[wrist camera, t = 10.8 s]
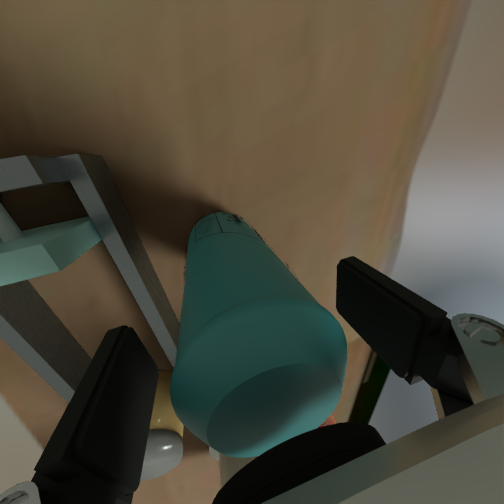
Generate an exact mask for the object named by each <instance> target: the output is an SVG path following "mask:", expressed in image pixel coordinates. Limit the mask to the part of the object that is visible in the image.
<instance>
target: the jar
mask: <svg viewBox="0 0 504 504" xmlns="http://www.w3.org/2000/svg"><path fill="white" fill-rule="evenodd" d="M172 372H173V371H167V370H161V371H159V378H158V383H157V389H156V395H155V400H154V406H153V411H152V417H151V423H150V428H149V434H148V439H147V445H146V451H145V456H144V462H143V467H142V473H141V479H140V482H141V481H146V480H150V479H154V478H156V477H159V476H161V475H164V474H166V473H167V472H169V471H171V470H172V469H173V468H175V467H176V466H177V465H178V464H179V462H180V461H181V459H182V456H183V426H184V425H183V424H182V422H181V421H180V420H179V419H178V417H177V416H176V414H175V411H174V409H173V406H172V403H171V398H170V383H171V377H172Z"/></svg>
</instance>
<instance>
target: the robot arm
mask: <svg viewBox="0 0 504 504" xmlns="http://www.w3.org/2000/svg"><path fill="white" fill-rule="evenodd" d="M336 308H337V311H338V313H339V314H340V315H341V316H342V317H343V318H344V319H345V320H346V321H347V322H348V323H349V325H350V326H351V327H352V328H353V329H354V330H355V331H356V332H357V333H358V334H359V335H360V336H361V337H362V338H363V339H364V341H365V342H366V343H367V344H368V345H369V346H370V347H371V348H372V349H373V350H374V351H375V352H376V353H377V354H378V355H379V357H380V358H381V359H382V360H383V361H384V362H385V363H386V364H387V365H388V366H389V367H390V368H391V369H392V370H393V371H394V372H395V374H397V375H398V376H399V377H401V378H404V379H405V380H406V381H407V382H408V383H409V384H410V385H412V384H414V383H416V382H419V381H421V380H422V379H424V380H425V381H426V382H427V383H428V384H429V385H430V388H431V392H432V395H433V399H434V403H435V407H436V411H437V414H438V418H439V420H438V421H436V422H433V423H431V424H429V425H427V426H425V427H423V428H421V429H418V430H416V431H414V432H412V433H410V434H408V435H406V436H403V437H401V438H399V439H397V440H395V441H393V442H391V443H389V444H386V445H384V446H382V447H380V448H378V449H376V450H373V451H371V452H369V453H367V454H365V455H363V456H361V457H359V458H356V459H354V460H352V461H350V462H348V463H346V464H344V465H342V466H340V467H337V468H335V469H333V470H331V471H329V472H327V473H325V474H323V475H320V476H318V477H316V478H314V479H312V480H310V481H308V482H306V483H304V484H302V485H299V486H297V487H295V488H293V489H291V490H289V491H287V492H285V493H283V494H280V495H278V496H276V497H274V498H272V499H270V500H268V501H266V502H264V503H261V504H504V325H503V324H501V323H499V322H497V321H495V320H493V319H490V318H487V317H484V316H481V315H476V314H467V313H463V314H457V315H455V316H453V317H452V319H451V320H450V319H448V318H447V317H446V315H447V312H446V311H444V310H442V309H441V308H439V307H437V306H435V305H434V304H432V303H431V302H429V301H427V300H426V299H424V298H422V297H420V296H419V295H417V294H416V293H414V292H412V291H411V290H409V289H407V288H406V287H404V286H402V285H401V284H399V283H397V282H396V281H394V280H392V279H391V278H389V277H387V276H386V275H384V274H382V273H381V272H379V271H377V270H376V269H374V268H373V267H371V266H369V265H368V264H366V263H364V262H363V261H361V260H359V259H358V258H356V257H354V256H351V257H348V258H345V259H342V260H340V262H339V264H338V265H337V289H336ZM158 378H159V370H158V367H157V365H156V364H155V362H154V361H153V359H152V358H151V356H150V354H149V353H148V351H147V350H146V348H145V346H144V345H143V343H142V342H141V340H140V339H139V337H138V335H137V334H136V332H135V331H134V329H133V328H132V327H129V328H128V326H126V325H124V326H120V327H117V328H114V329H110V330H108V331H107V333H106V334H105V336H104V338H103V340H102V342H101V344H100V346H99V348H98V350H97V351H96V353H95V355H94V357H93V359H92V361H91V363H90V365H89V366H88V368H87V370H86V372H85V374H84V376H83V378H82V380H81V382H80V383H79V385H78V387H77V389H76V391H75V393H74V395H73V397H72V399H71V400H70V402H69V404H68V406H67V408H66V410H65V412H64V414H63V416H62V417H61V419H60V421H59V423H58V425H57V427H56V429H55V431H54V433H53V434H52V436H51V438H50V440H49V442H48V444H47V446H46V448H45V449H44V451H43V453H42V455H41V457H40V459H39V461H38V463H37V465H36V466H35V469H34V470H35V471H36V473H35V474H34V477H33V478H32V480H31V482H30V481H25V482H22V483H19V484H16V485H15V486H13V487H11V488H10V489H8V490H6V491H5V492H4V493H2V494H1V495H0V504H131V503H132V498H133V493H134V491H136V490H137V488H138V486H139V483H140V479H141V473H142V467H143V462H144V456H145V451H146V445H147V439H148V434H149V428H150V423H151V417H152V411H153V406H154V400H155V395H156V389H157V383H158ZM209 453H210V455H211V457H213V458H214V459H215V460H218V461H219V465H220V479H221V488H222V487H223V486H224V484H225V483H226V482H227V481H228V480H229V479H230V478H231V477H232V476H233V475H234V474H236V473H237V472H238V471H239V470H240V469H241V468H243V467H244V466H245V465H247V464H248V463H249V462H251V461H252V460H253V459H255V458H254V457H250V458H239V457H230V456H227V455H223V454H221V453H219V452H217V451H216V450H214V449H213V448H211V447H210V446H209Z"/></svg>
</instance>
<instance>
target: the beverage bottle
mask: <svg viewBox="0 0 504 504" xmlns="http://www.w3.org/2000/svg"><path fill="white" fill-rule="evenodd" d="M217 212H218V211H217ZM212 213H213V212H212ZM209 214H210V213H209ZM238 216H239V215H238ZM238 216H237V215H236V214H235V215H234V214H231V213H228V211H227V212H218V213H215V212H214V213H213V214H210V215H207V216H205V217H204V218H202V217H201V218H202V219H201V220H200V221H198V222H197V221H196V222H197V223H195V226H194V227H193V229H192V231H191V233H190V236H189V241H188V250H187V253H186V254H187V258H186V257H184V258H186V259H187V260H186V261H185V262H186V264H185V265H186V271H185V273H184V274H185V275H183V276H185V280H184V281H185V286H184V294H183V303H182V311H181V320H180V329H179V337H178V346H177V354H176V363H175V366H174V368H173V372H172V377H171V383H170V398H171V403H172V406H173V409H174V411H175V414H176V416H177V417H178V419H179V420H180V421H181V422H182V424H183V425H184V426H185V427H186V428H187V429H188V430H189V431H190V432H191V433H192V434H194V435H195V436H196V437H198V438H199V439H200V440H201V441H203V442H204V443H205V444H207V445H208V446H210V447H211V448H213V449H214V450H216V451H217V452H219V453H221V454H223V455H227V456H230V457H239V458H250V457H256V456H258V457H256V458H255V459H253V460H252V461H251V462H249V463H248V464H247V465H245V466H244V467H243V468H241V469H240V470H239V471H238V472H237V473H236V474H234V475H233V476H232V477H231V478H230V479H229V480H228V481H227V482H226V483H225V484H224V486H223V487H222V488H221V489H220V491H219V492H218V494H217V495H216V497H215V498H214V500H213V503H212V504H261V503H264V502H266V501H268V500H270V499H272V498H274V497H276V496H278V495H280V494H283V493H285V492H287V491H289V490H291V489H293V488H295V487H297V486H299V485H302V484H304V483H306V482H308V481H310V480H312V479H314V478H316V477H318V476H320V475H323V474H325V473H327V472H329V471H331V470H333V469H335V468H337V467H340V466H342V465H344V464H346V463H348V462H350V461H352V460H354V459H356V458H359V457H361V456H363V455H365V454H367V453H369V452H371V451H373V450H376V449H378V448H380V447H382V446H384V445H386V443H385V442H384V440H383V439H382V437H381V436H380V434H379V433H378V431H377V430H376V429H375V428H374V427H372V426H371V425H368V424H365V423H360V422H345V423H337V424H332V425H327V426H323V427H320V428H318V427H319V426H320V425H321V424H322V423H323V422H324V421H325V420H326V419H327V418H328V417H329V416H330V414H331V413H332V412H333V410H334V409H335V407H336V405H337V403H338V401H339V399H340V396H341V392H342V388H343V383H344V378H345V371H346V364H347V341H346V338H345V335H344V332H343V329H342V327H341V325H340V324H339V322H338V321H337V320H336V319H335V318H334V316H333V315H332V314H331V313H330V312H329V311H328V310H326V309H325V308H324V307H323V306H321V305H320V304H319V303H318V302H317V301H316V300H315V299H314V297H313V296H312V295H311V294H310V293H309V292H308V291H307V290H306V289H305V288H304V286H303V285H302V284H301V283H300V282H299V281H298V279H296V278H297V277H296V278H295V277H294V275H293V274H292V273H291V272H290V271H289V270H288V269H287V267H286V266H285V265H284V264H283V262H282V261H281V260H280V259H279V258H278V257H277V256H276V255H275V254H274V252H273V251H272V250H271V249H270V248H269V247H268V246H267V245H266V243H267V242H266V243H265V242H264V241H263V239H262V238H261V237H260V236H259V234H258V233H257V232H256V231H255V230H254V231H255V232H256V233H257V234H258V235H257V234H256V233H255V232H254V231H253V230H252V229H251V228H250V227H249V225H248V224H247V223H246V222H245V221H244V220H242V219H244V218H241V217H238ZM250 226H251V225H250ZM251 227H252V226H251ZM253 229H254V228H253ZM264 240H265V239H264ZM186 249H187V248H186ZM186 249H185V250H186ZM272 249H273V248H272ZM183 266H184V265H183ZM287 266H288V265H287ZM289 267H290V266H289ZM184 268H185V267H184ZM293 273H294V272H293ZM183 285H184V284H183Z"/></svg>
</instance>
